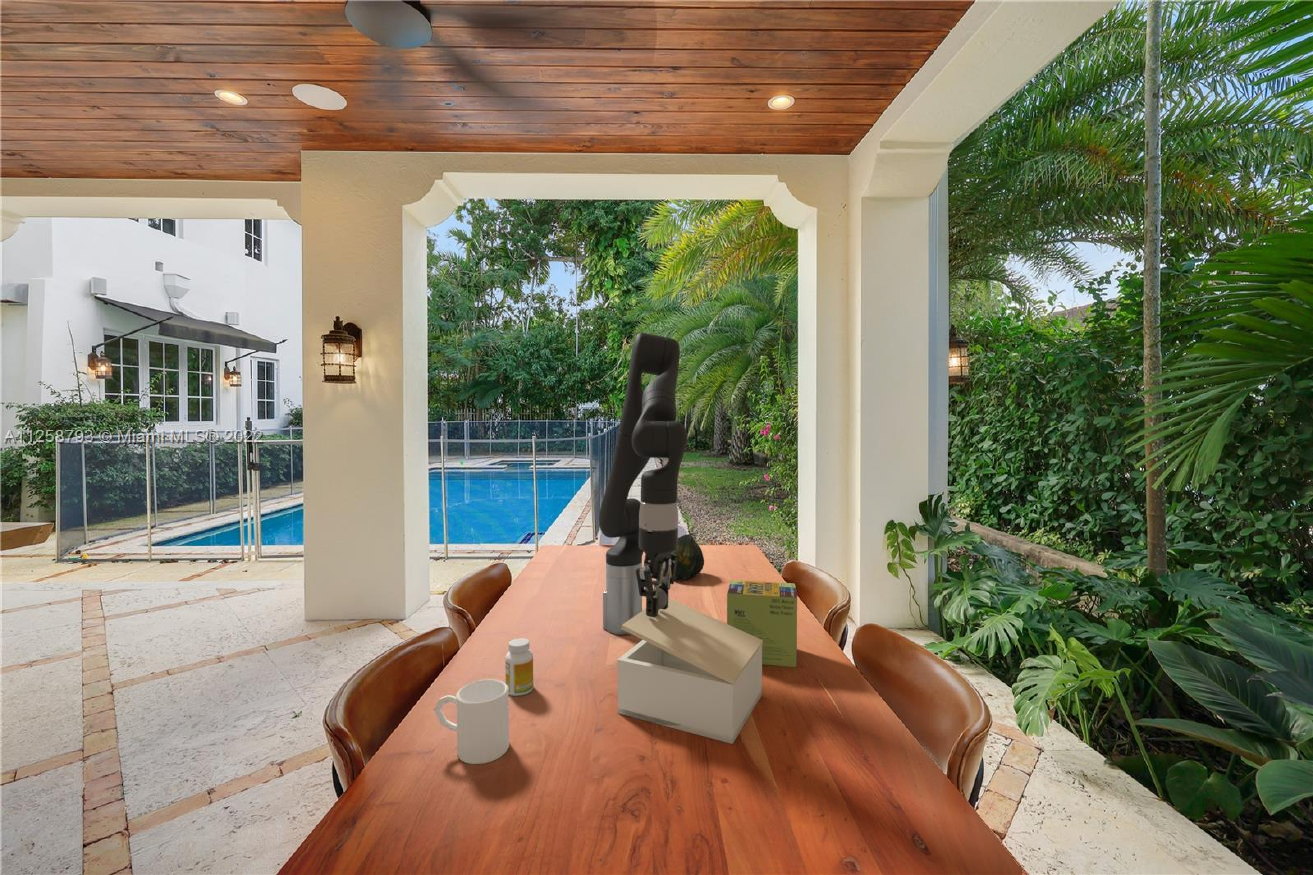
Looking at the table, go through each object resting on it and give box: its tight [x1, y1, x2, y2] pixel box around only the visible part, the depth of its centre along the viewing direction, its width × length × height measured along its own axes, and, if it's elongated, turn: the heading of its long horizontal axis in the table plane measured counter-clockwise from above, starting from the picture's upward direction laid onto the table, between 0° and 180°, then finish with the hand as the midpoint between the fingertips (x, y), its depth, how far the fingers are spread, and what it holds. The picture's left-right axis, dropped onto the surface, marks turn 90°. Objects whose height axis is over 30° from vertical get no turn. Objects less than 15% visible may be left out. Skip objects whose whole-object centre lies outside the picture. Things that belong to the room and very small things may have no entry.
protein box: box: [726, 579, 798, 668], centre depth 126 cm, size 10×15×16 cm
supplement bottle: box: [504, 637, 534, 697], centre depth 110 cm, size 5×5×10 cm
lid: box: [621, 588, 763, 684], centre depth 104 cm, size 22×18×6 cm
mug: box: [433, 678, 510, 765], centre depth 90 cm, size 8×12×10 cm
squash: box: [671, 533, 705, 580], centre depth 188 cm, size 14×15×15 cm
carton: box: [616, 639, 763, 745], centre depth 104 cm, size 22×18×10 cm
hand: (657, 611), depth 107 cm, fingers closed on lid, 4 cm apart
